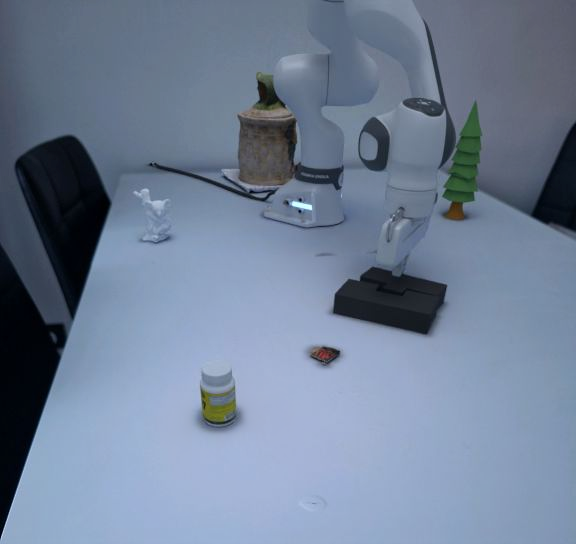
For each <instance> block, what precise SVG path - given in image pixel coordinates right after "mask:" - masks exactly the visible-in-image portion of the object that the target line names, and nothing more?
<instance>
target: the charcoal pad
mask: <svg viewBox="0 0 576 544" xmlns="http://www.w3.org/2000/svg"><path fill="white" fill-rule="evenodd" d="M379 287H380V285H378V284H373V283H368V282H363V281H360V280H358V279H353V278H352V279H351V278H348V279H347V280H346V281H345V282H344V283H343V284H342V285H341V286H340V288H339V289H338V290H337V291H336V292H335V293H334V295H333V296H334V297H333V310H332V313H333V314H336V315H340V316H345V317H349V318H354V319H357V320H362V321H367V322H371V323H375V324H379V325H384V326H388V327H393V328H397V329H401V330H407V331H409V332H415V333H419V334H424V335H427V334H428V333H429V330H430V328H431V327H432V325H433V323H434V322H435V321H434V320H435V318H436V316H437V313H438V310H437V308H438V303H439V298H440V297H438V296H433V295H428V294H423V293H418V292H413V291H408V290H406V291H405V293H404V294H403V296H399V295H394V294H389V293H384V292H379Z"/></svg>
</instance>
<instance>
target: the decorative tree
mask: <svg viewBox="0 0 576 544" xmlns="http://www.w3.org/2000/svg"><path fill="white" fill-rule="evenodd" d="M477 103H478V102H477V99H475V100H474V103H473V104H472V106H471V107H472V108H471V109H470V112H469V115H468V116H467V119H466V121H465V123H464V125H463V127H462V129H461V130H460V132H459V134H458V136H459V139H458V142H456V145H455V148H454V149H456V151H455V153H454V154H453V156H452V158H451V161H452V162H453V163H452V164H451V167H450V168H449V169H448V171H447V173H446V174H447V175H450V176H449V177H448V179H447V180H446V182H445V183H444V184H443V186H442V188H444V189H445V190H444V191H443V193H442V195H441V198H443V199H445V200H446V201H449V202H450V205H449V208H448V210H447V211H446V213H445V214H444V217H445V218H446V219H449V220H450V219H451V220H456V221H460V220H463V219H465V218H467V217H466V215H465V213H464V210H463V209H464V208H463V205H464V204H465V203H470V202H471V203H472V202H475V201H476V197H475V192H477V193H478V192H479V188H478V183H477V179H476V177H477V176H478V175H479V168H478V164H479V165H480V164H481V157H480V152H481V151H482V140H481V137H483V131H482V128H481V125H480V119H479V113H478V112H479V111H478V104H477Z"/></svg>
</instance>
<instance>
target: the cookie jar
mask: <svg viewBox="0 0 576 544" xmlns="http://www.w3.org/2000/svg"><path fill="white" fill-rule="evenodd" d="M255 75H256V77H255V79H256V81H257V82H256V83H257V87H256V90H257V92H258V98H259V99H258V100H257V101H256V102H255V103H254V104H253V105H252V106H250V107H249V108H248V109H246V110H240V111H239V112H237V114H236V115H237V120H238V122H239V126H240V127H239V132H238V146H237V147H238V149H237V161H238V168H222V169H221V172H222V174H223V175H222V176H223V178H225V177H226V178H227V179H228V180H230V181H231V182H233V183H234V184H236V185H238V186H239V187H240V188H242V189H243V190H244V191H245V192H246V193H248V194H250V191H253V192H258V193H261V192H265V191H275V189H278V188H280V187H282V186H283V185H284V184H285V183H287V182H288V181H289V180H291V179H292V178H293V177H294V172H292V170H293V169H292V168H293V167H294V166H295V165H296V164H295V160H294V158H295V155H296V154H295V153H296V149H297V144H298V133H297V129H296V128H297V120H296V118H295V116H294V115H293V113H292V112H291V110H290V109H289V108H288V107H287V106H286V105H285V104H284V103H283V102H282V101H281V100H280V99H279V97H278V96H277V94H276V92H275V89H274V85H273V74H266V73H264V72H262V71H261V70H258V71H256V74H255Z"/></svg>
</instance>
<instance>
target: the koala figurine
mask: <svg viewBox="0 0 576 544" xmlns="http://www.w3.org/2000/svg"><path fill="white" fill-rule="evenodd" d="M133 195H134V196H135V197H137V198H138V199H139V200H141V204H140V205H141V207H142V208H143V211H144V213H145V222H146V223H145V226H146V228H145V229H146V233H147V234H146V235H145V236H144V237H142V241H145V242H147V241H149V242H154V243H159V242H160V241H165V240H166V239H168V235H167V234H166V233H168V232H169V231H170V230H171V228H172V224H173V222H172V221H173V220H172V216H171V214H170V212H169V210H168V209H170V208H171V205H172V201H171V200H170V199H169V198H168V199H167V198H166V199H164V200H160V199H157V200H153V201H152V199H151V194H150V190H149V188H142V189H141V190H140V192H138V191H136V190H134V191H133Z"/></svg>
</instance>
